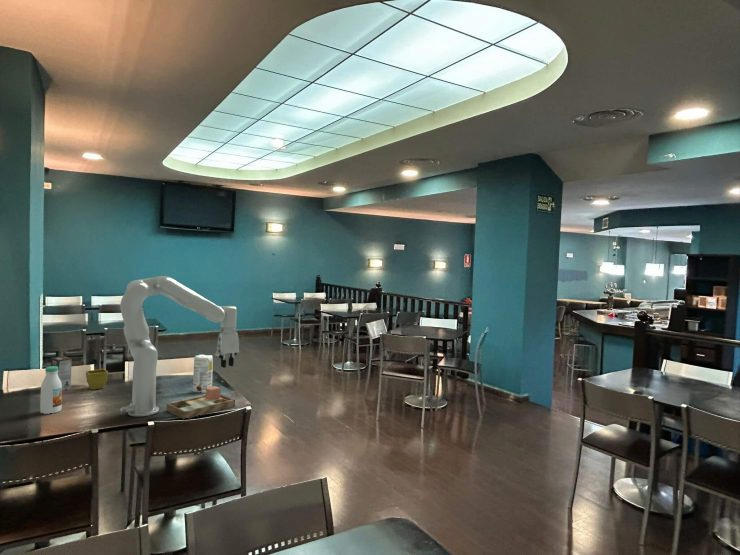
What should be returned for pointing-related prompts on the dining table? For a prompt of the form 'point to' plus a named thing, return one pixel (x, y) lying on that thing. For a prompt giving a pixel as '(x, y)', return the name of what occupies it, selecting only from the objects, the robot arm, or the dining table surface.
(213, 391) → the block
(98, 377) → the flower pot
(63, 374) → the coffee box
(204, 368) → the juice carton
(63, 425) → the dining table surface
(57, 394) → the milk bottle
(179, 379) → the dining table surface
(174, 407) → the tray
